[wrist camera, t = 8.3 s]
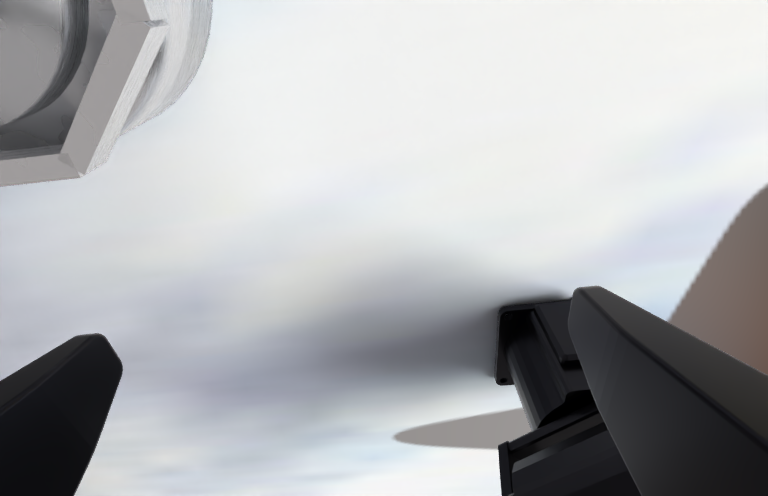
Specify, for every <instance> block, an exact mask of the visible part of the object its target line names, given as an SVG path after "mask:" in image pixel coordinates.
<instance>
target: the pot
mask: <svg viewBox="0 0 768 496" xmlns="http://www.w3.org/2000/svg"><path fill="white" fill-rule="evenodd" d="M211 19H212V0H89V28H88V35H87V42H86V47H85V51H84V54H83V57H82V60H81V64H80V66H79V68H78V70H77V72H76V74H75V76H74V78H73V80H72V82H71V83H70V84H69V85H68V87H67V88H66V89H65V91H64V92H63V93H62V94H61V96H59V97H58V98H57V99H56V100H55V101H54V102H52V103H51V104H50V105H49V106H48V107H46V108H44V109H42V110H41V111H39V112H37V113H35V114H34V115H31V116H28V117H25V118H23V119H20V120H17V121H14V122H11V123H8V124H5V125H2V126H0V187H1V186H10V185H19V184H28V183H37V182H46V181H55V180H64V179H73V178H81V177H83V176H84V175H86V174H88V173H89V172H91V171H92V170H94V169H96V168H97V167H99V166H101V165H102V164H104V163H105V162H106V161H107V159H108V157H109V155H110V153H111V151H112V149H113V147H114V144H115V142H116V140H117V138H118V137H119V136H121V135H122V134H124V133H126V132H128V131H130V130H132V129H134V128H135V127H137V126H139V125H141V124H143V123H145V122H147V121H148V120H150V119H152V118H154V117H156V116H158V115H159V114H161V113H162V112H163V111H165V110H166V109H167V108H169V107H170V106H171V105H172V104H174V103H175V102H176V100H177V99H178V98H179V97H180V96H181V95H182V94H183V93H184V91H185V90H186V89H187V87H188V86H189V84H190V83H191V81H192V80H193V78H194V76H195V75H196V73H197V71H198V68H199V66H200V64H201V61H202V59H203V57H204V54H205V50H206V46H207V42H208V38H209V35H210V27H211Z"/></svg>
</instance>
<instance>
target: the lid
mask: <svg viewBox="0 0 768 496" xmlns="http://www.w3.org/2000/svg"><path fill="white" fill-rule="evenodd" d="M88 28H89V0H0V126H2V125H5V124H8V123H11V122H14V121H17V120H20V119H23V118H25V117H28V116H31V115H34V114H35V113H37V112H39V111H41V110H42V109H44V108H46V107H48V106H49V105H50V104H51V103H52V102H54V101H55V100H56V99H57V98H58V97H59V96H61V94H62V93H63V92H64V91H65V89H66V88H67V87H68V85H69V84H70V83H71V82H72V80H73V78H74V76H75V74H76V72H77V70H78V68H79V66H80V64H81V60H82V57H83V54H84V51H85V47H86V42H87V35H88Z"/></svg>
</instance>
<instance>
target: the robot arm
mask: <svg viewBox="0 0 768 496" xmlns="http://www.w3.org/2000/svg"><path fill="white" fill-rule="evenodd" d="M506 314H510V315H508V316H505V315H506ZM122 372H123V366H122V362H121V360H120V359H119V357H118V356H117V354H116V352H115V351H114V349H113V348H112V346H111V345H110V343H109V342H108V340H107V338H106V337H105V336H103V335H102V334H98V333H94V334H84V335H78V336H75V337H73V338H72V339H70V340H68V341H67V342H65V343H63V344H62V345H60V346H58V347H56V348H55V349H53V350H51V351H50V352H48V353H46V354H45V355H43V356H41V357H40V358H38V359H36V360H35V361H33V362H31V363H30V364H28V365H26V366H25V367H23V368H21V369H20V370H18V371H16V372H15V373H13V374H11V375H10V376H8V377H6V378H5V379H3V380H1V381H0V496H74V495H75V493H76V490H77V488H78V486H79V484H80V482H81V480H82V478H83V475H84V473H85V471H86V469H87V467H88V465H89V462H90V460H91V458H92V456H93V453H94V451H95V448H96V446H97V443H98V441H99V438H100V435H101V432H102V430H103V427H104V424H105V421H106V418H107V416H108V413H109V410H110V407H111V404H112V402H113V399H114V396H115V393H116V390H117V388H118V385H119V382H120V379H121V376H122ZM494 376H495V380H496V383H497V384H498V385H515V387H516V390H517V392H518V395H519V398H520V401H521V403H522V406H523V409H524V412H525V414H526V417H527V419H528V423H529V425H530V428H531V432H529V433H528V434H525V435H523V436H521V437H519V438H517V439H515V440H513V441H511V442H508V441H506V442H504V443H502V444H500V445H499V446H498V450H499V466H500V479H501V491H502V496H768V375H766V374H764V373H762V372H761V371H759V370H757V369H755V368H753V367H751V366H749V365H747V364H746V363H743V362H742V361H740V360H738V359H736V358H734V357H732V356H730V355H729V354H727V353H725V352H723V351H721V350H719V349H717V348H715V347H714V346H712V345H710V344H708V343H706V342H704V341H702V340H700V339H698V338H696V337H695V336H693V335H691V334H689V333H687V332H685V331H683V330H681V329H680V328H678V327H676V326H674V325H672V324H670V323H668V322H667V321H665V320H663V319H661V318H659V317H657V316H655V315H653V314H651V313H650V312H648V311H646V310H644V309H642V308H640V307H638V306H636V305H635V304H633V303H631V302H629V301H627V300H625V299H623V298H621V297H619V296H618V295H616V294H614V293H612V292H610V291H608V290H606V289H604V288H602V287H600V286H589V287H579V288H577V289H575V291H574V292H573V296H572V300H567V301H557V302H546V303H536V304H525V305H514V306H506V307H503V308H501V309H500V310H499V312H498V324H497V341H496V358H495V375H494Z"/></svg>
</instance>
